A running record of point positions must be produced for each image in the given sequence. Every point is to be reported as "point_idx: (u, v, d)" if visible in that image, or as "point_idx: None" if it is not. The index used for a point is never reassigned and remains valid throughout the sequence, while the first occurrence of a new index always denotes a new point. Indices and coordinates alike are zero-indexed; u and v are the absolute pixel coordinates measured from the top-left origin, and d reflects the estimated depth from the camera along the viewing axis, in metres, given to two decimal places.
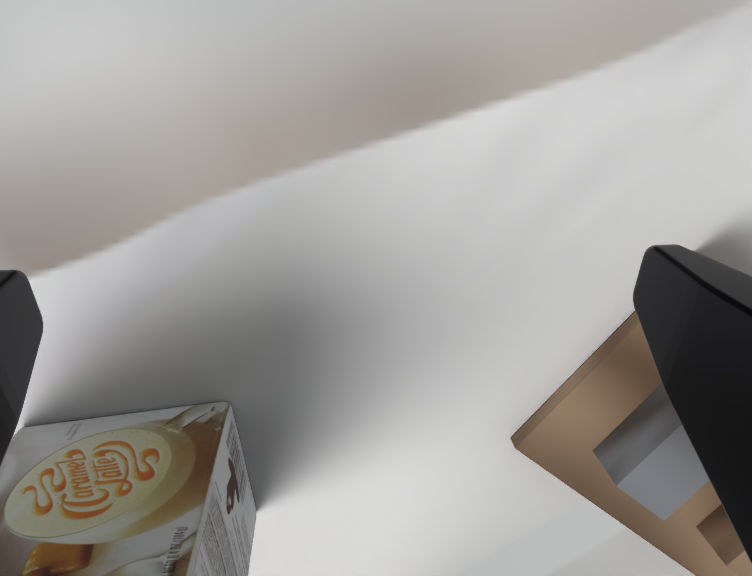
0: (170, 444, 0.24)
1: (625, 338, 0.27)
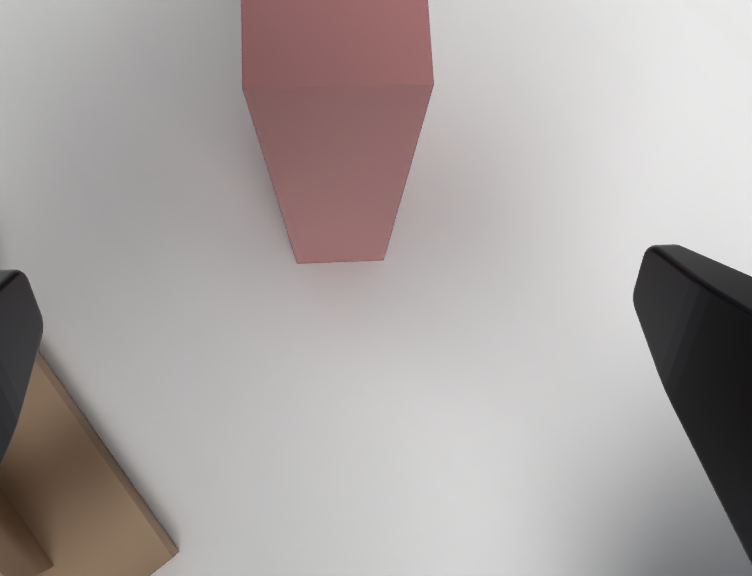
0: None
1: None
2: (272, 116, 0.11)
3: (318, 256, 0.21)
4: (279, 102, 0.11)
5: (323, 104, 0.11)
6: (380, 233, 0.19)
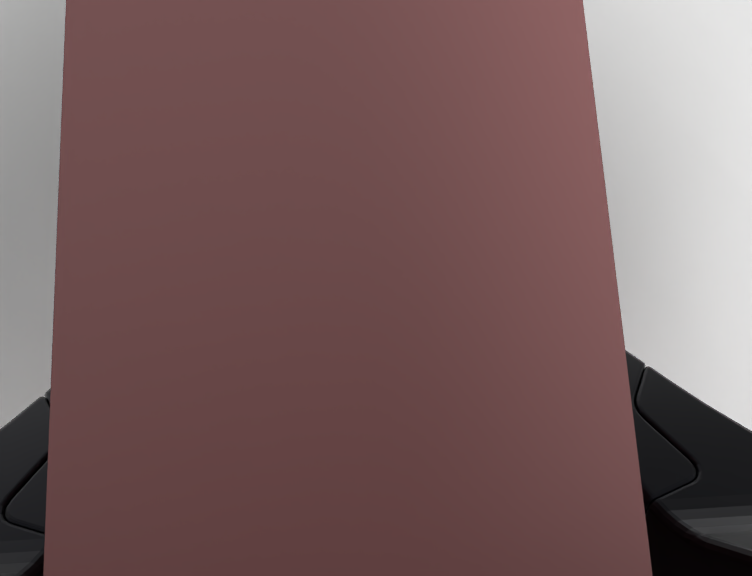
0: None
1: None
2: None
3: None
4: None
5: None
6: None
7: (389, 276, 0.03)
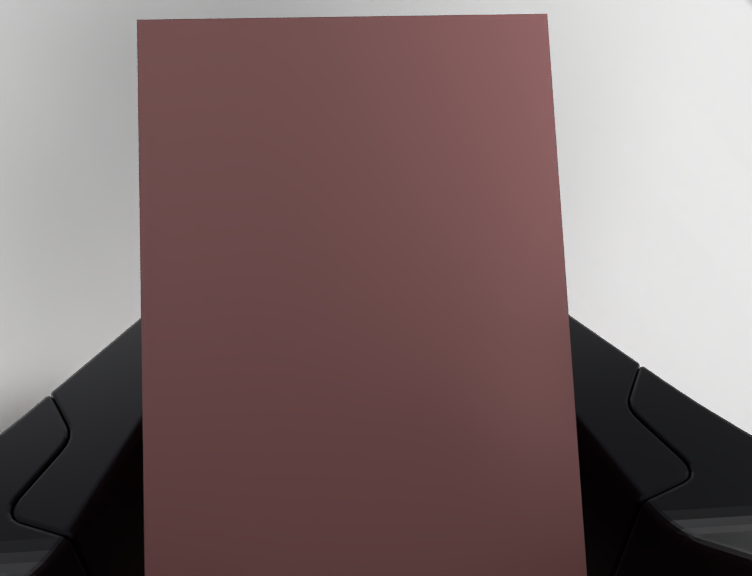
0: None
1: None
2: None
3: None
4: None
5: None
6: None
7: (398, 390, 0.04)
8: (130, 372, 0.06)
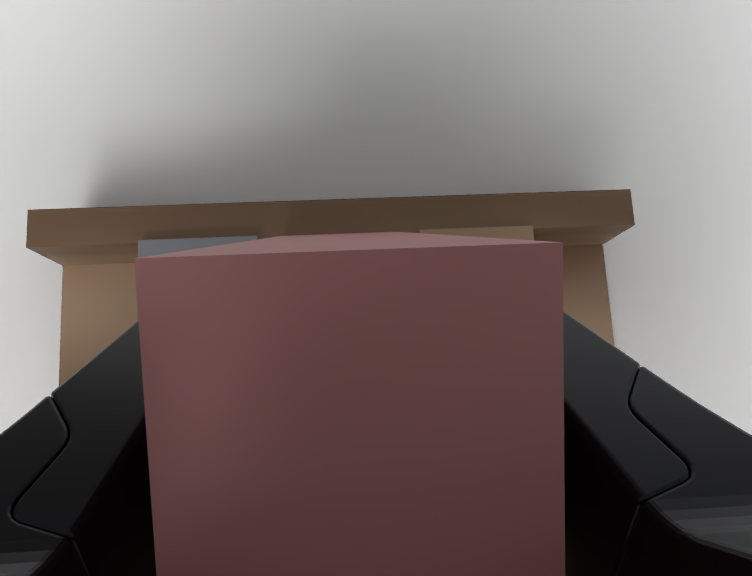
0: None
1: (60, 380, 0.18)
2: None
3: None
4: None
5: None
6: None
7: None
8: (130, 372, 0.06)
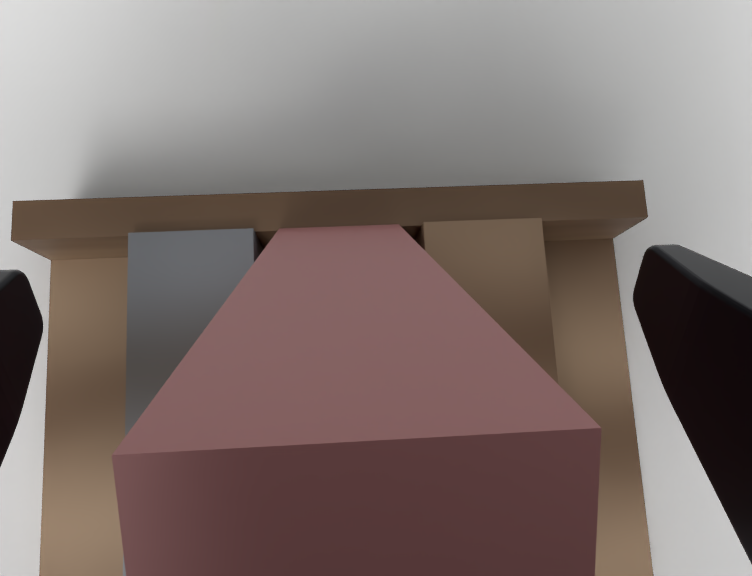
0: None
1: (47, 379, 0.17)
2: None
3: None
4: None
5: None
6: None
7: None
8: None
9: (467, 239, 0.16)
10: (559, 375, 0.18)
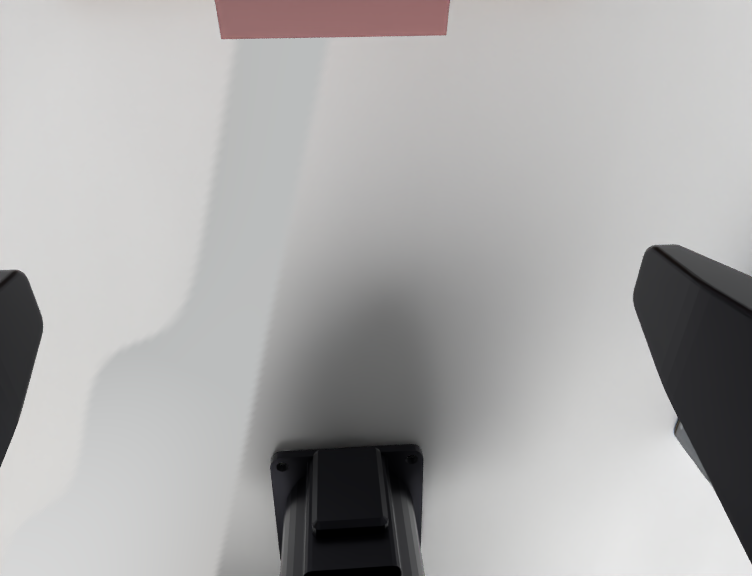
0: None
1: None
2: None
3: None
4: None
5: None
6: None
7: None
8: None
9: None
10: None
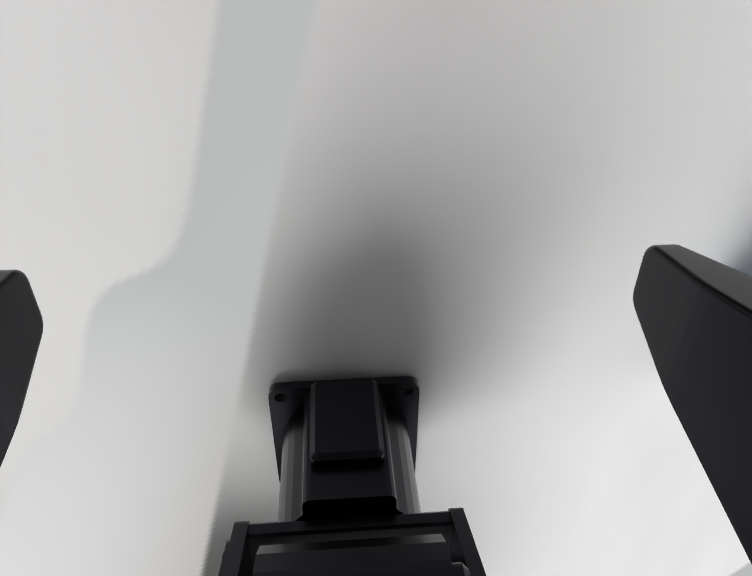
0: None
1: None
2: None
3: None
4: None
5: None
6: None
7: None
8: None
9: None
10: None
